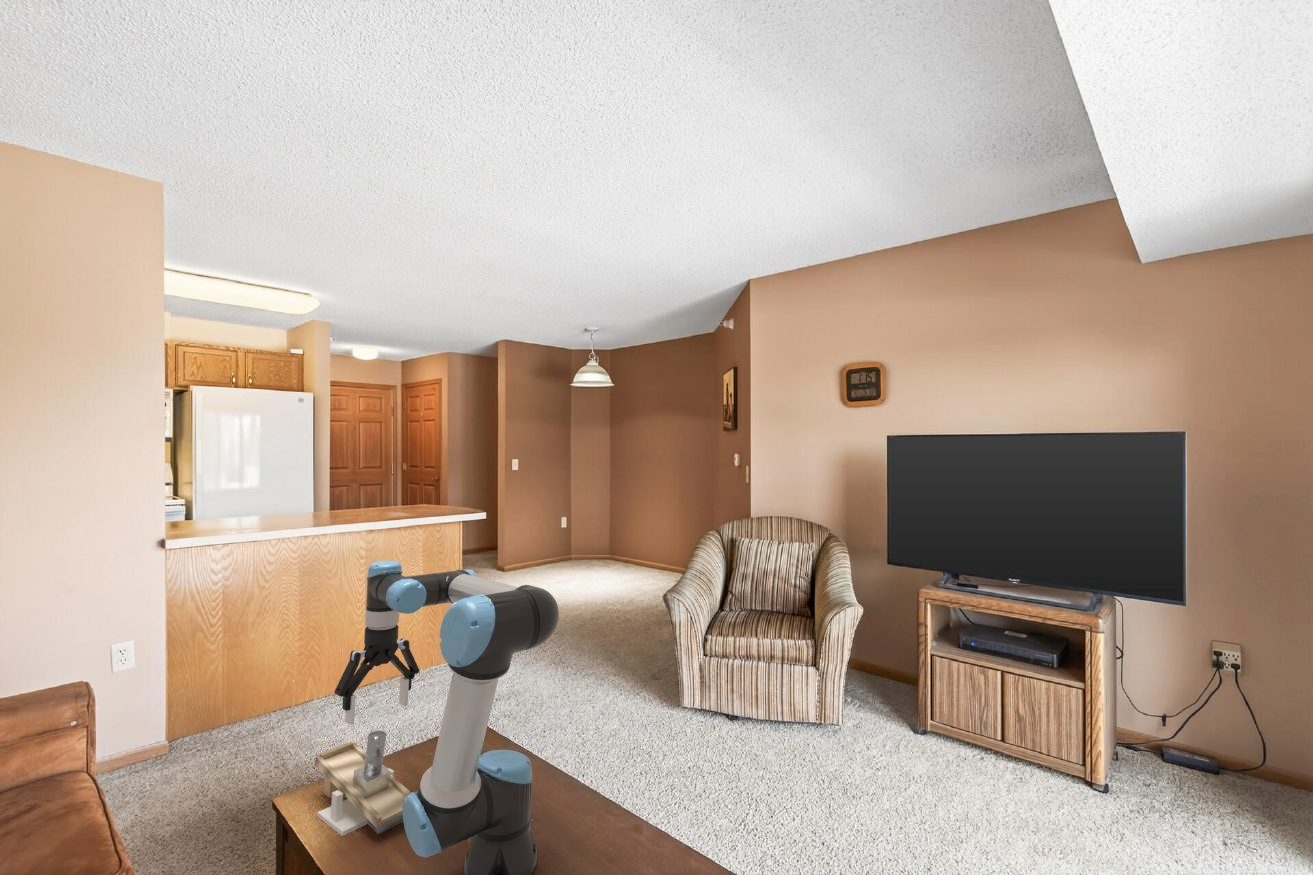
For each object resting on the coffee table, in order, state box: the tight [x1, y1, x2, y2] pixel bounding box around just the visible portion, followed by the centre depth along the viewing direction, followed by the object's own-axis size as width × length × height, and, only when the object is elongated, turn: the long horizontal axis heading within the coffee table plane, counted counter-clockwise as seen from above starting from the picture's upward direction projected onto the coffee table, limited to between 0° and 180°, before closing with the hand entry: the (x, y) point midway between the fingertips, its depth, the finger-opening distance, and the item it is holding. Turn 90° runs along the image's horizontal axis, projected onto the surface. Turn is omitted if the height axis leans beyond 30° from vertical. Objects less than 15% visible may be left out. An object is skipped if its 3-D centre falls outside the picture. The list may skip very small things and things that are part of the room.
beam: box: [314, 741, 412, 835], centre depth 147 cm, size 30×11×5 cm, turn 54°
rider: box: [352, 730, 391, 798], centre depth 145 cm, size 6×6×13 cm
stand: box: [317, 767, 395, 837], centre depth 149 cm, size 20×16×7 cm
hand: (377, 713), depth 145 cm, fingers open, 13 cm apart
